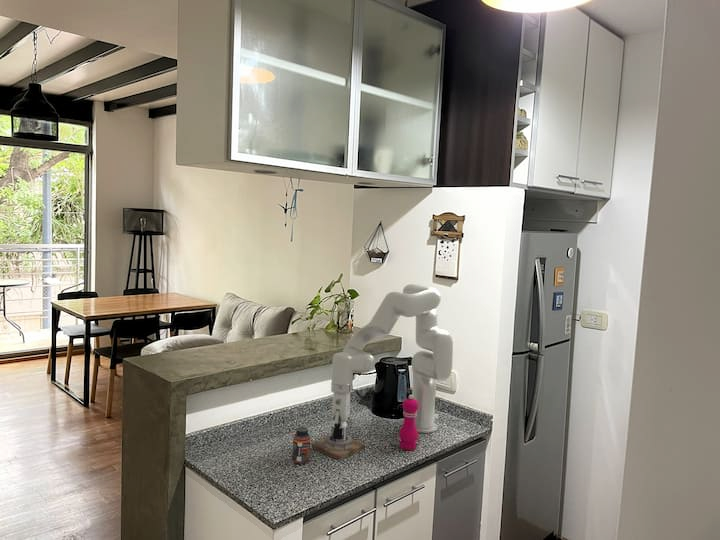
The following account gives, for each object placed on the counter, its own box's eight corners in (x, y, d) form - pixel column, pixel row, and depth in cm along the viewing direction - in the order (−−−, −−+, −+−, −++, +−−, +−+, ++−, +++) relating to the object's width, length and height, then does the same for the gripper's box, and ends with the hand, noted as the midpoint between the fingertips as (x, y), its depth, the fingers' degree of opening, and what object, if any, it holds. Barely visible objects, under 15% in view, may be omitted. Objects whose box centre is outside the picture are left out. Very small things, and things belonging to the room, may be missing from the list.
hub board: (337, 437, 204) (337, 427, 204) (365, 448, 195) (365, 438, 195) (311, 447, 193) (311, 437, 193) (339, 460, 184) (340, 449, 184)
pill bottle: (337, 438, 198) (338, 413, 197) (349, 442, 195) (350, 416, 194) (328, 443, 194) (329, 417, 193) (339, 447, 190) (341, 420, 190)
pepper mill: (416, 451, 194) (419, 398, 193) (396, 449, 196) (400, 396, 194) (418, 444, 202) (421, 392, 200) (399, 441, 203) (402, 390, 201)
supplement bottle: (302, 466, 178) (303, 433, 177) (288, 461, 181) (289, 429, 180) (312, 460, 183) (314, 428, 182) (299, 455, 187) (300, 424, 186)
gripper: (347, 395, 183) (344, 446, 185) (356, 381, 200) (353, 427, 202) (325, 393, 184) (323, 443, 186) (336, 379, 201) (334, 425, 203)
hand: (339, 434), depth 194 cm, fingers closed on pill bottle, 5 cm apart
